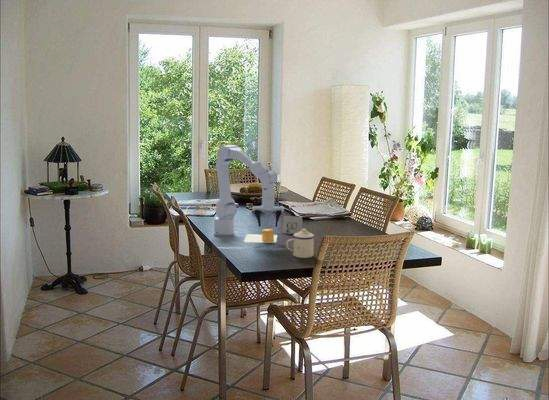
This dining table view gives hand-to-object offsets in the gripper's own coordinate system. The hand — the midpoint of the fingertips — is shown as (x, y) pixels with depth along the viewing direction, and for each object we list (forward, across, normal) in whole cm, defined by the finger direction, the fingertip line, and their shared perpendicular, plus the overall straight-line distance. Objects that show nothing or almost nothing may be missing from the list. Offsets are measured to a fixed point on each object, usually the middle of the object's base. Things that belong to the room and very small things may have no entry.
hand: (267, 226), depth 277 cm
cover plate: (+8, -3, +4) cm, 9 cm away
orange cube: (+7, 0, 0) cm, 7 cm away
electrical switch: (+8, +11, +18) cm, 23 cm away
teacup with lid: (+8, +15, -22) cm, 28 cm away
